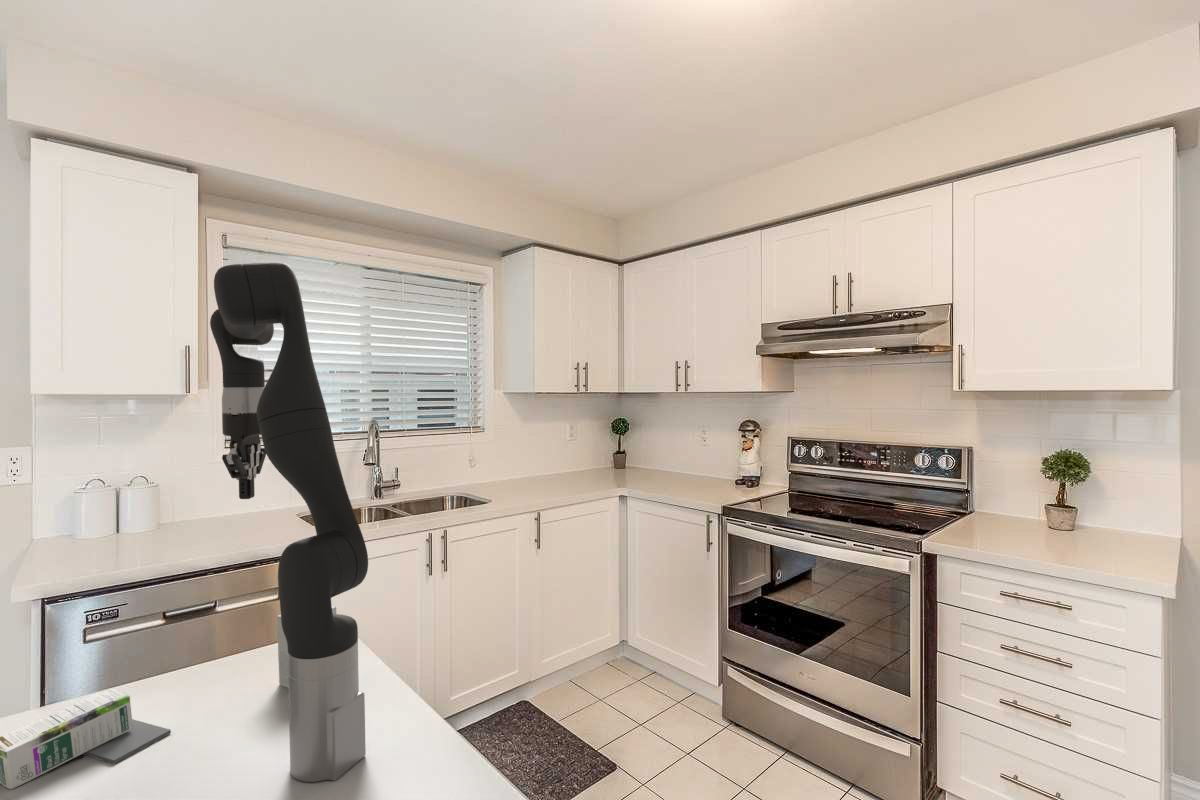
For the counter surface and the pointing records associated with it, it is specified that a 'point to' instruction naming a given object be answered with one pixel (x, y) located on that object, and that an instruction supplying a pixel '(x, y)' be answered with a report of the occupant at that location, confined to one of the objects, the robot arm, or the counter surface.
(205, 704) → the counter surface
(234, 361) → the robot arm
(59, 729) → the syrup box
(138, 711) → the counter surface
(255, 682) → the counter surface
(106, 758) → the slate trivet
